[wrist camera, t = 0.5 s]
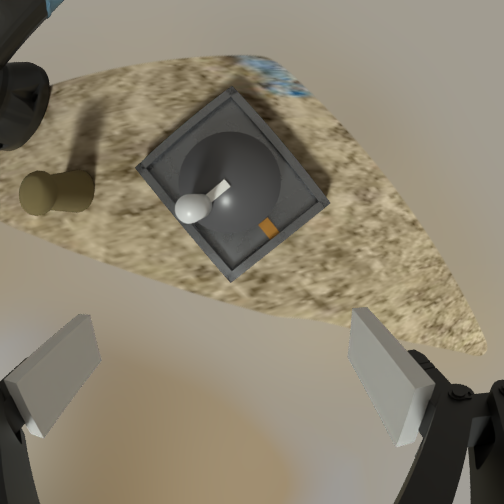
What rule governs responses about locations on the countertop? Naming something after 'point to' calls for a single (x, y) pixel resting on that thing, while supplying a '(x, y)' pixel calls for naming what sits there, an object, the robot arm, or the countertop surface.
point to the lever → (228, 183)
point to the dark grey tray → (283, 214)
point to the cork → (56, 192)
